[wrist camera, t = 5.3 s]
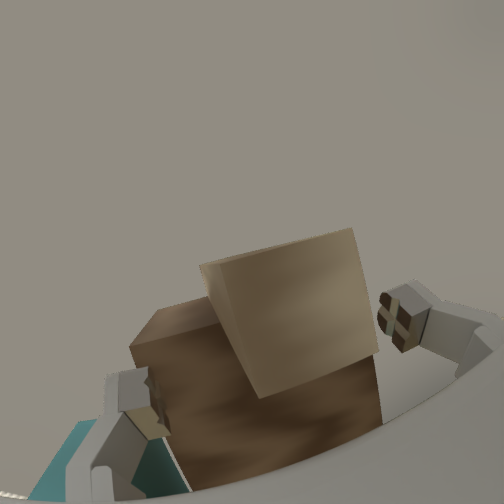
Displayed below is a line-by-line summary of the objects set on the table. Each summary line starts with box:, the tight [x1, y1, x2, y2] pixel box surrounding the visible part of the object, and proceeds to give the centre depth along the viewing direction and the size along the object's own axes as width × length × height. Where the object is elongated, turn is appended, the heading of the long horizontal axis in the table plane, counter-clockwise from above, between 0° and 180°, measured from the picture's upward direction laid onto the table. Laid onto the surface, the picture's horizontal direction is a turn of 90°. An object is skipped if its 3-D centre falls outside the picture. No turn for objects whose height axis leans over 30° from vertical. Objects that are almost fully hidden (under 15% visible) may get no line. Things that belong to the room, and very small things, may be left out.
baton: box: [199, 228, 379, 399], centre depth 17 cm, size 3×22×3 cm, turn 11°
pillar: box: [129, 296, 383, 491], centre depth 21 cm, size 12×13×26 cm
